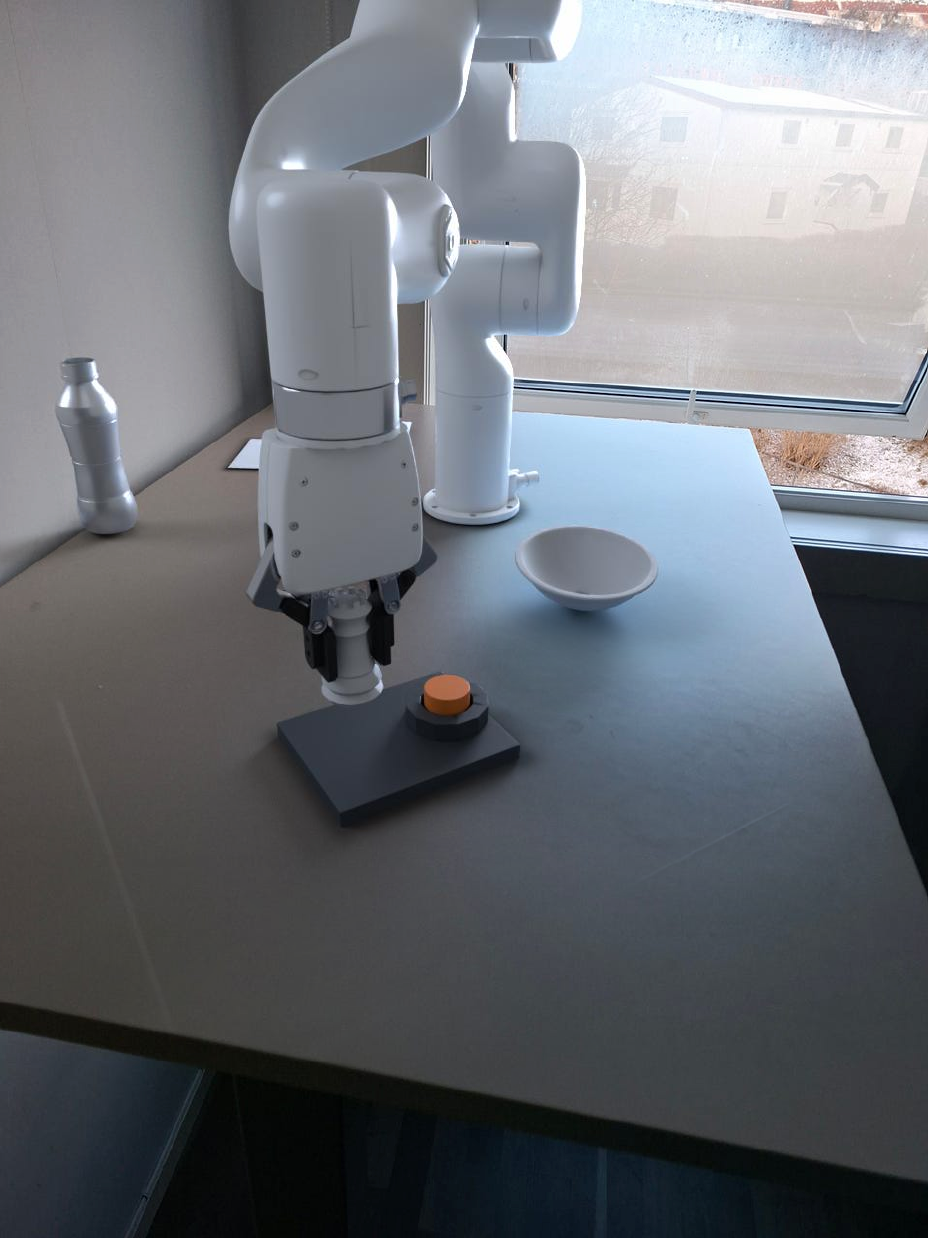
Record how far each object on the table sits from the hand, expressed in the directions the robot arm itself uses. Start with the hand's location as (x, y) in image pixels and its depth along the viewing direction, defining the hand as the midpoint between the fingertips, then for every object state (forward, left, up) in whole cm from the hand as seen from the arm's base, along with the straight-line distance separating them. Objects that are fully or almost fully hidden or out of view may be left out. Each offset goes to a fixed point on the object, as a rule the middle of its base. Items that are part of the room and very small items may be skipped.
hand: (351, 662), depth 60 cm
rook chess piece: (0, 0, -3) cm, 3 cm away
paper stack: (-30, -73, -9) cm, 79 cm away
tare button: (-8, 0, -6) cm, 10 cm away
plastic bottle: (+6, -55, -9) cm, 56 cm away
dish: (-32, -12, -9) cm, 35 cm away
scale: (-4, 0, -9) cm, 10 cm away
